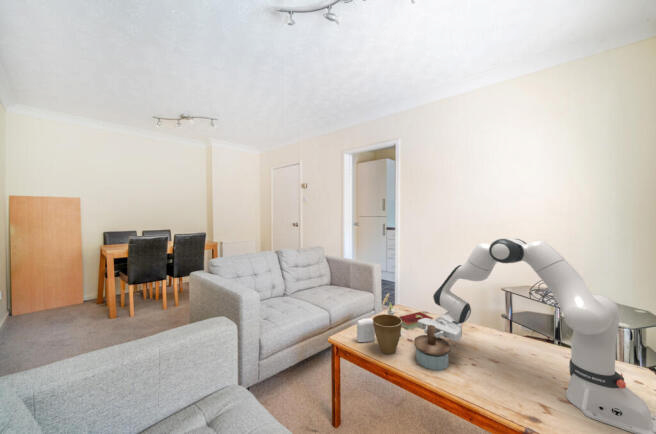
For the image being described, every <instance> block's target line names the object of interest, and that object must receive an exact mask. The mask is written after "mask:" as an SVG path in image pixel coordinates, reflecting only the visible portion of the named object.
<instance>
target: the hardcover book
mask: <svg viewBox="0 0 656 434" xmlns="http://www.w3.org/2000/svg"><path fill="white" fill-rule="evenodd" d="M398 317H399V318H400V319H401V320H402V325H401V328H404V329H405V328H406V329H405V330H408V331H409V329H410V330H413V329H417V328H418V320H420V319H423V318H429V319H432V320H434V317H432V316H430V315H428V314H426V313H423V312H421V311H417V312H414V313H409V314H405V315H400V316H398Z"/></svg>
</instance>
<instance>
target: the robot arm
mask: <svg viewBox="0 0 656 434" xmlns="http://www.w3.org/2000/svg"><path fill="white" fill-rule="evenodd" d="M519 262H525V263H526V264H528V265H529V266H530V268H532V270H533V271H534V273H536V275H537V276H538V277H539V278H540V279H541V280H542V282H543V283H544V285H545V286H546V287H547V289H549V291H550V292H551V294H552V295H553V298H555V300H556V302H557V304H558V306H559V308H560V310H561V312H562V314H563V315H562V316H563V319H564V322H565V323H566V325H567V326H568V327H569V328H570V329H571V330H572V331H573V332H572V336H571V339H570V354H571V356H570V360H569V365H568V366H569V367H568V371H569V374H570V377H569V383H568V387H567V389H566V392H565V397H566V399H567V400H568V401H569V402H570V403H571V404H572V405H574V406H575V407H576V408H577V409H580V411H581V412H582V414H584V415H585V416H586V417H588V418H590V419H593V420H594V421H595V420H596V421H598V422H601V423H604V424H607V425H610V426H613V427H616V428H618V429H621V430H623V431H627V432H629V433H633V434H656V416H654V415H653V413H651V412H650V409H649V407H648V405H647V403H646V402H645V401H644V400H643V398H641V397H640V396H639V395H638V394H637V393H635V392H634V391H632V390H631V389H630V388H629V387H627V383H626V382H625V377H624V375H623V373H622V372H620V373H619V372H617V371H616V346H617V341H618V331H619V323H620V322H619V321H620V309H619V306H618V304H617V303H616V302H615V301H614V300H613V299H611V298H609V297H608V296H605V295H599V294H592V293H591V292H590V290H589V288H588V287H587V285H586V284H585V281H584V279H583V277H582V276H581V275H580V273H579V272H578V271H577V270H576V269H575V268H574V267H573V266H572V264H570V263H569V262H568V260H567V259H565V257H564V256H563V255H561V253H560V252H559V251H558V250H556V248H554V247H553V246H552V245H550V244H549V243H548V242H546V241H545V240H533V241H530V242H529V243H527V242H526V241H524V240H522V239H519V238H510V237H507V238H499V239H496V240H494V241H492V242H491V244H490V243H487V242H481V243H478V244H477V245H475V247H474V249H473V250H472V251H471V253H470V255H469V257H468V259H467V261H466V262H465V263H464V264H459V265H457V266H456V267H454V269H452V271H451V272H450V274H449V275H448V276H447V278H445V280H444V281H443V283H442V284H441V285H440V287H438V289H436V290H435V292H434V294H433V297H432V299H433V301H434V304H435V305H437V306H439V307H440V308H442V309H444V310H445V311H447V312H445V313H444V314H441V315H440V316H438V317H436V318H435V319H429V318H423V319H420V320H418V327H417V328H418V329H420V330H423V332H424V334H425V335H427V326H428V325H433V326H435V333H434V337H436V338H438V337H439V338H445V339H448V340H451V341H454V342H459V341H460V340H461V339H462V337H463V326H462V325H463V324H464V323H465V322H466V321H467V320H468V319H469V318H470V316H471V314H472V308H471V304H470V303H469V302H468V301H466V300H465V299H463V298H461V297H460V296H458V295H457V294H455V293H453V292H452V291H451V289H452V287H453V286H454V285H455V283H456V282H457V281H458V280H459V279H461V280H466V281H472V282H482V281H485V280H487V279H488V278H489V276H490V275H491V273H492V271H493V269H494V268H495V266H496V264H497V263H501V264H515V263H519Z"/></svg>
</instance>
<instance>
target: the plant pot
mask: <svg viewBox="0 0 656 434" xmlns="http://www.w3.org/2000/svg"><path fill="white" fill-rule="evenodd" d="M399 317H400V316H398V315H395V314H394V315H389V314H388V313H385V314H378V315H374V316H373V318H372V319H373V325H374V330H375V339H376V341H377V343H378V346H379V349H380V351H381V352H382V353H384V354H386V353H387V355H392V354H394V353H395V352H396V350H397V348H398V344H399V342H400V336H401V334H400V332H401V333H402V326H401V325H402V320H401V319H400V318H399Z"/></svg>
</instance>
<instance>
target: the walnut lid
mask: <svg viewBox="0 0 656 434" xmlns="http://www.w3.org/2000/svg"><path fill="white" fill-rule="evenodd" d="M434 333H435V326H433V325H428V326H427V334H424V335H423V334H422V335H418V336H416V337H415V338H414V339H413V344H414V347H415V349H416V348H417V349H419V350H420V351H422V352H425V353H428V354H432V355H444V354H447V353H448V354H449V353H450V351H451V345H450V343H449V342H448V341H447V340H445V339H444V338H443V337H438V338H436V337H434Z"/></svg>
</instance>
